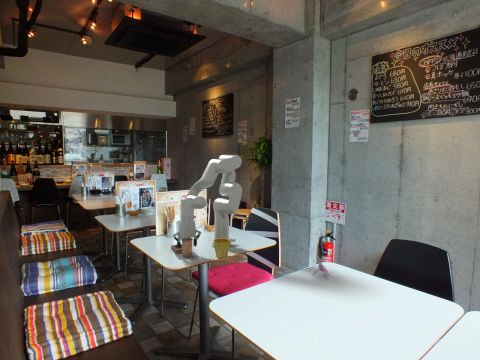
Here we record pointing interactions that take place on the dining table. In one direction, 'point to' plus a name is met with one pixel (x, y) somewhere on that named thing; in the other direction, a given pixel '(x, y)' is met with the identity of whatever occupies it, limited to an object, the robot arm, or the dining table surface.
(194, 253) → the mat
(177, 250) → the holder
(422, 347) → the dining table surface
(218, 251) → the plant pot
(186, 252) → the brown wooden block
